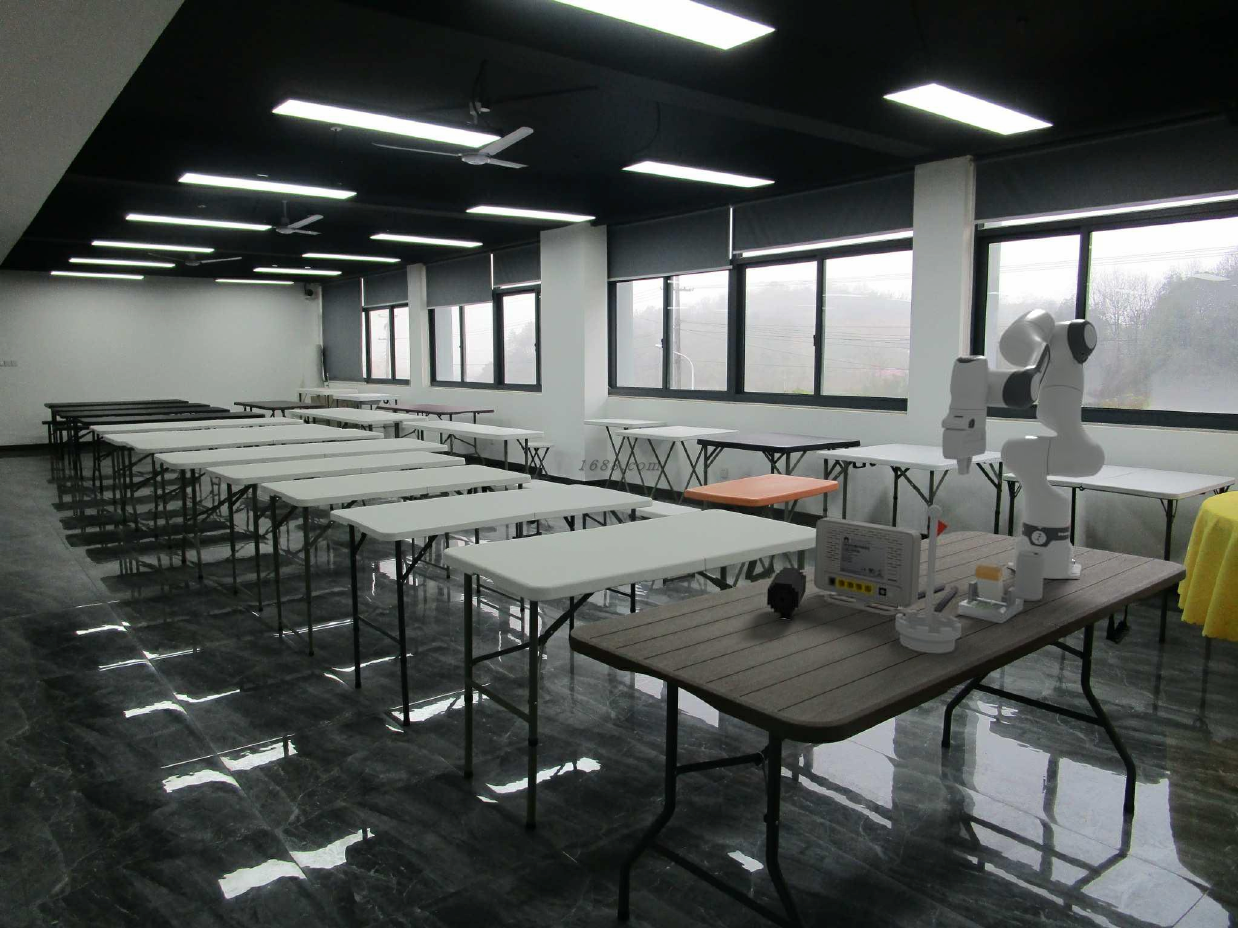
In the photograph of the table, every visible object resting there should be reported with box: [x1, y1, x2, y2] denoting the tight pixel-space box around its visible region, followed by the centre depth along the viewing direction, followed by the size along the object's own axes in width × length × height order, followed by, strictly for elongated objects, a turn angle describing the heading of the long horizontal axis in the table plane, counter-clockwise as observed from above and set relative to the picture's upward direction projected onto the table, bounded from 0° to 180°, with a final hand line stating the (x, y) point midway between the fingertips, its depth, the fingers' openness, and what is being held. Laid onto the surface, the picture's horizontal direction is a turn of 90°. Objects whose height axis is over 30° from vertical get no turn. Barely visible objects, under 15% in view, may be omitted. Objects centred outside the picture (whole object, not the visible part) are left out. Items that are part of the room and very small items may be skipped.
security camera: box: [766, 566, 807, 620], centre depth 191 cm, size 7×18×10 cm, turn 161°
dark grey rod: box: [933, 585, 959, 613], centre depth 204 cm, size 23×1×1 cm, turn 147°
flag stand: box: [894, 504, 962, 654], centre depth 172 cm, size 13×13×30 cm
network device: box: [813, 516, 922, 616], centre depth 200 cm, size 26×9×20 cm, turn 47°
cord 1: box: [918, 582, 946, 599], centre depth 210 cm, size 19×1×1 cm, turn 132°
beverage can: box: [1014, 550, 1045, 602], centre depth 207 cm, size 6×6×12 cm
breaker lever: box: [974, 564, 1007, 603], centre depth 194 cm, size 2×7×9 cm, turn 47°
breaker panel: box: [957, 579, 1025, 624], centre depth 196 cm, size 15×10×6 cm, turn 137°
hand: (963, 474), depth 208 cm, fingers closed
